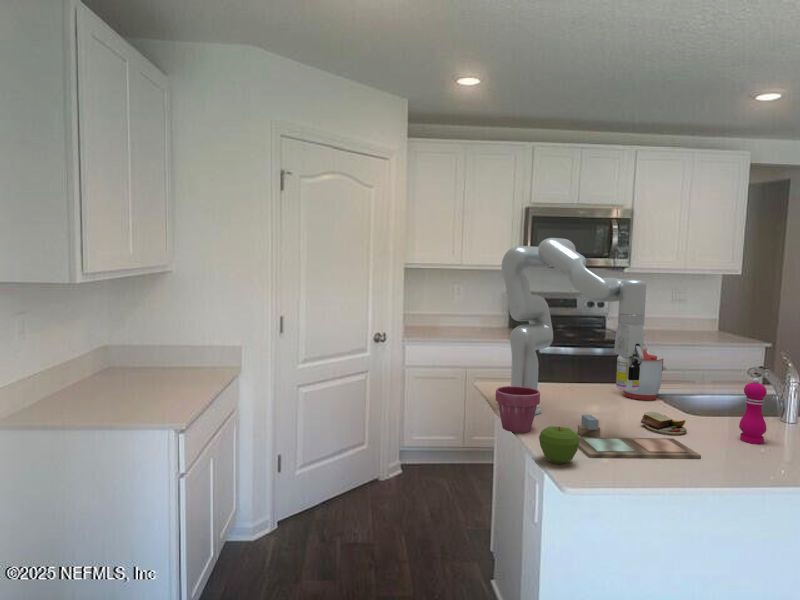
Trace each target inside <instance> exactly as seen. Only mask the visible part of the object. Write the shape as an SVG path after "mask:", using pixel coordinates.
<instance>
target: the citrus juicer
mask: <svg viewBox="0 0 800 600" xmlns="http://www.w3.org/2000/svg"><path fill="white" fill-rule="evenodd" d="M643 356H644V359H643V360H642V363H641V367H640V380H639V389H638V390H635V391H629V390H622V391H623V393H624V395H625V396H626V397H627V398H630V399H633V400H635V399H638V400H642V401H643V400H645V401H654V400H655V399H656V398H657V396H658V395H659V391H660V390H661V389H660V388H661V385H662V374H663V371H667V367H666V366H664V358H661V359H660V358H659V359H658V355H654V354H649V353H648V352H647V351H646V350H645V349H644V348H643ZM653 399H654V400H653Z"/></svg>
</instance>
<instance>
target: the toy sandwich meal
mask: <svg viewBox="0 0 800 600" xmlns="http://www.w3.org/2000/svg"><path fill="white" fill-rule="evenodd" d="M640 423H641V424H642V425H643V424H644V426H645V427H646V429H648V431H650V430H651V432H653V431H654V432H653V433H656V432H657V433H656V434H660V433H661V434H662V435H666V434H668V436H681V435H680V434H682V435H684V434H685V433H686V432H687V431H688V429H687V428H686V427H684V426H685V423H686V420H685V419H683V420H675V419H674V418H671V417H668V416H666V415H664V414H661V413H659V412H657V411H647V412H644V413H643V415H642V418H641V419H640ZM683 433H684V434H683Z"/></svg>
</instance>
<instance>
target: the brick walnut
mask: <svg viewBox="0 0 800 600" xmlns="http://www.w3.org/2000/svg"><path fill="white" fill-rule="evenodd" d="M576 434H577V435H578V436H579V435H580V436H579V437H583V438H601V427H599V426H598V430H589V429H587V428H586V427H585V426H583V425H582V424H578V425H577V433H576Z"/></svg>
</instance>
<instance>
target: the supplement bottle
mask: <svg viewBox="0 0 800 600" xmlns="http://www.w3.org/2000/svg"><path fill="white" fill-rule="evenodd" d="M632 357H636V355H632ZM634 360H635V359H633V362H634ZM616 363H617V364H616V382H615V383H616V384H615V386H616V388H617V389H619V390H622V391H623V390H629V391H635V390H638V389H639V380H640V374H639V380H629V379H628V373H629V367H630V361H629V358H625V357H623V356H620V355H619V356H618V357H617V358H616Z"/></svg>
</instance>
